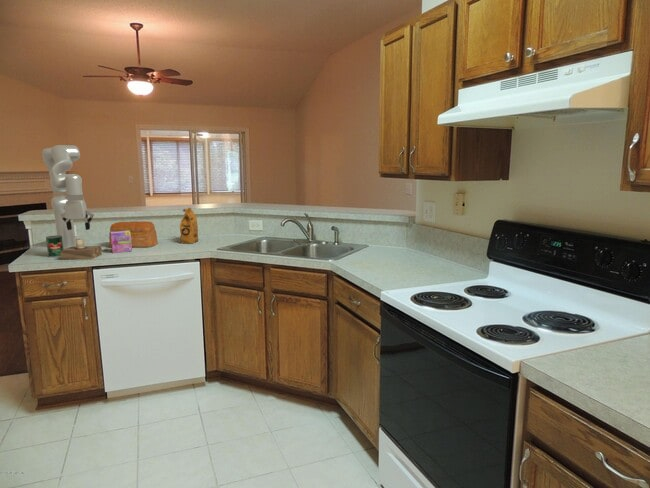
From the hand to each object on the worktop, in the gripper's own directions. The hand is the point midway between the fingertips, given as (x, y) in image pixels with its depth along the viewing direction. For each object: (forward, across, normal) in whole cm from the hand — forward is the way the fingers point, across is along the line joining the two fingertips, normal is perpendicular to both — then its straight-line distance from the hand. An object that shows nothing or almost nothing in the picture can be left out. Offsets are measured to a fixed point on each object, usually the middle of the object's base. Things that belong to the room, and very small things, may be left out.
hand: (78, 229), depth 247 cm
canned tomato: (+16, -17, +5) cm, 24 cm away
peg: (+15, 0, 0) cm, 15 cm away
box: (+16, +16, +14) cm, 27 cm away
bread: (+16, +16, +32) cm, 40 cm away
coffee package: (+16, +48, +41) cm, 65 cm away
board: (+15, 0, 0) cm, 15 cm away
